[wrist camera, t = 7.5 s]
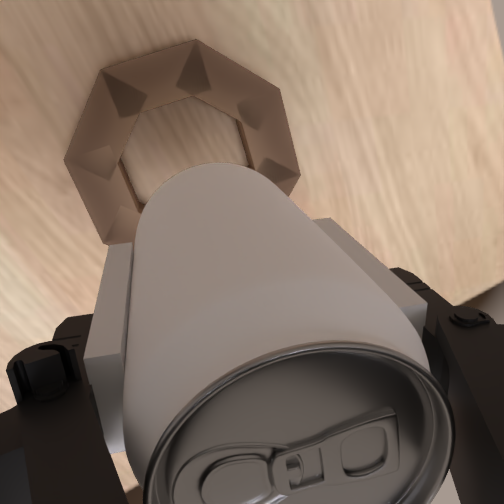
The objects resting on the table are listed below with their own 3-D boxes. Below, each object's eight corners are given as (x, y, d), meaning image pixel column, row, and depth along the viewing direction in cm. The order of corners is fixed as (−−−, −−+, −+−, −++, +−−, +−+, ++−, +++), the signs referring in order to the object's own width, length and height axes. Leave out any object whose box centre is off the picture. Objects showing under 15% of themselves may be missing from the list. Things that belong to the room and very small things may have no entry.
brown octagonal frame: (47, 207, 32) (39, 218, 30) (130, 3, 28) (129, -1, 26) (228, 279, 37) (233, 294, 35) (319, 115, 33) (331, 119, 31)
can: (116, 177, 17) (56, 384, 6) (282, 144, 18) (490, 275, 7) (157, 322, 20) (166, 645, 9) (300, 288, 20) (471, 545, 10)
